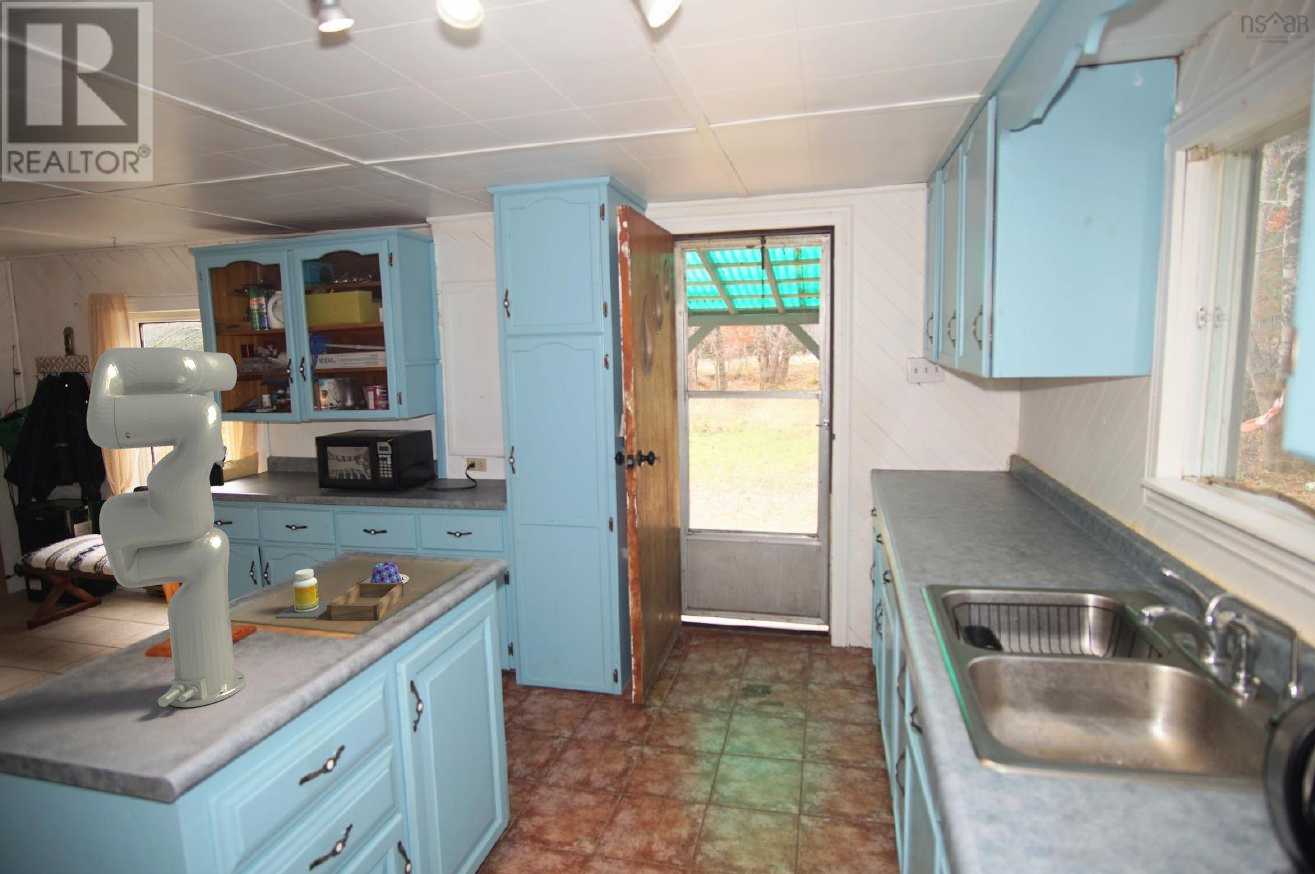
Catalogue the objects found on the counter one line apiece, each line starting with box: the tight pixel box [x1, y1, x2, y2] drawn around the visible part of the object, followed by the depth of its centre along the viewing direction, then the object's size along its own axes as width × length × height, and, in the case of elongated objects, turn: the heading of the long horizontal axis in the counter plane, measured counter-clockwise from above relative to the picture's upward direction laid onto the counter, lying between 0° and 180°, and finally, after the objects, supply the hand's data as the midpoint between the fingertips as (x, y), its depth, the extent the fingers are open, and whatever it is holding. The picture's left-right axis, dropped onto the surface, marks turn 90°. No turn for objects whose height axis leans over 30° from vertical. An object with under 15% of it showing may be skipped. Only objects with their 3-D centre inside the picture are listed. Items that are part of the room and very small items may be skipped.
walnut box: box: [326, 582, 405, 621], centre depth 172 cm, size 16×12×4 cm
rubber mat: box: [275, 600, 334, 619], centre depth 170 cm, size 10×10×1 cm
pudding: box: [362, 561, 410, 584], centre depth 190 cm, size 12×12×5 cm
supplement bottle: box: [292, 568, 320, 613], centre depth 169 cm, size 5×5×10 cm
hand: (202, 490), depth 151 cm, fingers open, 9 cm apart
